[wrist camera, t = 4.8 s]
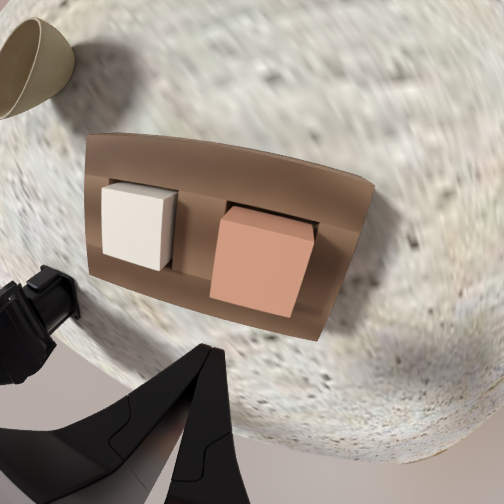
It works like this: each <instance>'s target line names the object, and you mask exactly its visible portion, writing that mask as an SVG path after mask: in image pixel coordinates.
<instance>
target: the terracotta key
mask: <svg viewBox="0 0 504 504" xmlns="http://www.w3.org/2000/svg"><path fill="white" fill-rule="evenodd" d="M313 245H314V235H313V228H312V224H308V223H304V222H300V221H296V220H292V219H288V218H284V217H280V216H276V215H272V214H267V213H263V212H259V211H255V210H250V209H246V208H241V207H237V206H233V207H232V208H231V209H230V210H229V211H228V212H227V213H226V214H225V215H224V216H223V217H222V218H221V220H220V226H219V233H218V240H217V246H216V253H215V260H214V267H213V274H212V282H211V289H210V297H211V298H214V299H218V300H221V301H225V302H229V303H233V304H236V305H240V306H244V307H248V308H252V309H256V310H260V311H264V312H268V313H272V314H276V315H280V316H284V317H289V318H290V316H291V313H292V310H293V307H294V305H295V302H296V299H297V296H298V293H299V290H300V286H301V283H302V280H303V277H304V274H305V271H306V268H307V265H308V261H309V258H310V255H311V252H312V248H313Z"/></svg>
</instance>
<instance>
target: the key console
mask: <svg viewBox="0 0 504 504" xmlns="http://www.w3.org/2000/svg"><path fill="white" fill-rule="evenodd" d="M121 181H130V182H136V183H142V184H147V185H153V186H159V187H164V188H169V189H175V190H179V192H178V202H177V211H176V222H175V234H174V247H173V258H172V259H171V260H170V261H169V262H168V263H167V264H166V265H165V266H164V267H163V268H162V269H161V270H160V271H157V270H154V269H150V268H147V267H144V266H141V265H137V264H134V263H131V262H128V261H125V260H122V259H119V258H115V257H112V256H109V255H106V254H103V245H102V213H101V202H102V188H103V187H106V186H109V185H112V184H115V183H118V182H121ZM374 187H375V185H374V184H372V183H371V182H369V181H367V180H366V179H364V178H362V177H361V176H358V175H354V174H351V173H348V172H344V171H341V170H338V169H334V168H331V167H327V166H323V165H320V164H316V163H312V162H308V161H304V160H300V159H296V158H292V157H287V156H283V155H279V154H274V153H269V152H265V151H260V150H255V149H250V148H244V147H239V146H233V145H227V144H221V143H215V142H208V141H201V140H194V139H186V138H178V137H169V136H159V135H147V134H134V133H103V134H91V135H87V143H86V157H85V180H84V209H85V233H86V247H87V258H88V267H89V275H92V276H95V277H97V278H100V279H102V280H105V281H108V282H110V283H113V284H116V285H118V286H121V287H124V288H126V289H129V290H132V291H135V292H138V293H141V294H144V295H146V296H149V297H152V298H155V299H158V300H161V301H164V302H168V303H171V304H174V305H177V306H180V307H183V308H187V309H190V310H193V311H197V312H200V313H203V314H207V315H210V316H214V317H217V318H221V319H224V320H228V321H232V322H236V323H239V324H243V325H247V326H251V327H255V328H259V329H263V330H267V331H271V332H275V333H280V334H284V335H289V336H293V337H298V338H302V339H307V340H312V341H318V339H319V337H320V334H321V332H322V330H323V328H324V326H325V323H326V321H327V319H328V316H329V314H330V312H331V309H332V307H333V305H334V302H335V300H336V297H337V295H338V292H339V290H340V287H341V285H342V282H343V280H344V277H345V275H346V272H347V269H348V267H349V264H350V261H351V259H352V256H353V253H354V250H355V247H356V245H357V242H358V239H359V236H360V233H361V230H362V227H363V224H364V221H365V217H366V214H367V211H368V208H369V205H370V201H371V198H372V194H373V191H374ZM233 206H237V207H241V208H246V209H250V210H255V211H259V212H263V213H267V214H272V215H276V216H280V217H284V218H288V219H292V220H296V221H300V222H304V223H308V224H312V228H313V235H314V245H313V248H312V252H311V255H310V258H309V261H308V265H307V268H306V271H305V274H304V277H303V280H302V283H301V286H300V290H299V293H298V296H297V299H296V302H295V305H294V307H293V310H292V313H291V316H290V318H289V317H284V316H280V315H276V314H272V313H268V312H264V311H260V310H256V309H252V308H248V307H244V306H240V305H236V304H233V303H229V302H225V301H221V300H218V299H214V298H211V297H210V289H211V282H212V274H213V267H214V260H215V253H216V246H217V240H218V233H219V226H220V220H221V218H222V217H223V216H224V215H225V214H226V213H227V212H228V211H229V210H230V209H231V208H232V207H233Z"/></svg>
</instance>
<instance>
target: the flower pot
mask: <svg viewBox="0 0 504 504" xmlns="http://www.w3.org/2000/svg"><path fill="white" fill-rule="evenodd" d="M74 66H75V56H74V53H73V50H72V48H71V47H70V45H69V43H68V42H67V40H66V39H65V38H64V36H63V35H62V34H61V33H60V32H59V31H58V30H57V29H56V28H54V27H53V26H52V25H50V24H48V23H47V22H45V21H43V20H41V19H39V18H36V17H31V18H28V19H26V20H24V21H23V22H21V23H20V24H19V25H18V26H17V27H16V28H15V29H14V30H13V31H12V33H11V34H10V35H9V37H8V38H7V40H6V41H5V43H4V45H3V47H2V48H1V50H0V120H1V119H5V118H9V117H12V116H15V115H17V114H20V113H23V112H25V111H27V110H29V109H31V108H33V107H35V106H37V105H39V104H41V103H43V102H44V101H46V100H48V99H49V98H51V97H52V96H54V95H55V94H56V93H58V92H59V91H60V90H62V89H63V88H64V87H65V85H66V84H67V83H68V81H69V79H70V77H71V75H72V73H73V70H74Z"/></svg>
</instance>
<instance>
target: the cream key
mask: <svg viewBox="0 0 504 504" xmlns="http://www.w3.org/2000/svg"><path fill="white" fill-rule="evenodd" d="M178 192H179V190H175V189H169V188H164V187H159V186H153V185H147V184H142V183H136V182H130V181H121V182H118V183H115V184H112V185H109V186H106V187H103V188H102V202H101V213H102V245H103V254H106V255H109V256H112V257H115V258H119V259H122V260H125V261H128V262H131V263H134V264H137V265H141V266H144V267H147V268H150V269H154V270H157V271H160V270H161V269H162V268H163V267H164V266H165V265H166V264H167V263H168V262H169V261H170V260H171V259H172V258H173V247H174V234H175V222H176V211H177V202H178Z"/></svg>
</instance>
